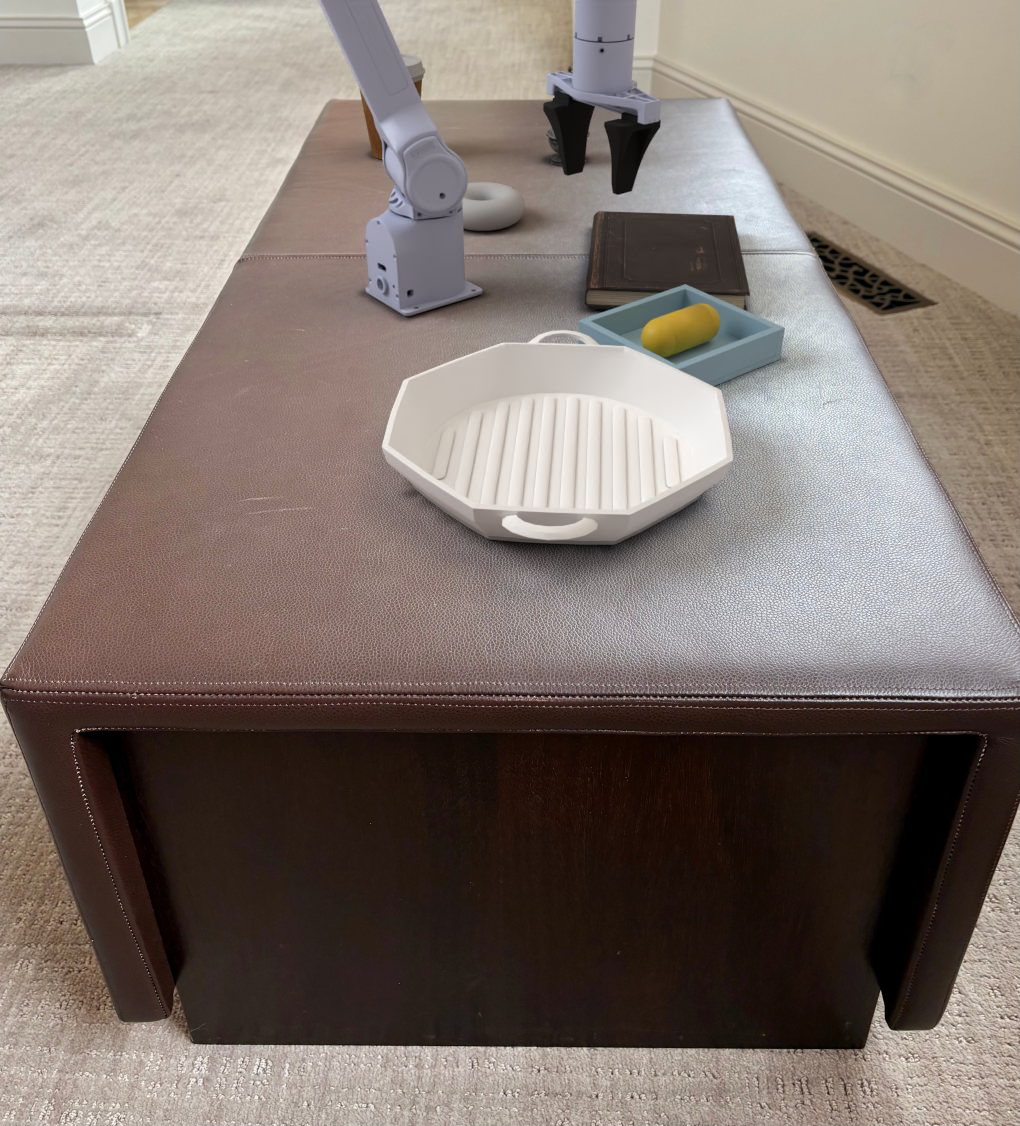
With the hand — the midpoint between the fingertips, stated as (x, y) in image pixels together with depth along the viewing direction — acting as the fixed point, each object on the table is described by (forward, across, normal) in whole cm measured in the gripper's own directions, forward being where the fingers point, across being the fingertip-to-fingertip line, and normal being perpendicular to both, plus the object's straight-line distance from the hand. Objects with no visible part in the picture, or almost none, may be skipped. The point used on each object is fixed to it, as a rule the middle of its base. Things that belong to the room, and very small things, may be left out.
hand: (597, 182), depth 109 cm
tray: (+9, -20, +7) cm, 23 cm away
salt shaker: (+10, +32, -23) cm, 41 cm away
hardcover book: (+10, -4, -6) cm, 12 cm away
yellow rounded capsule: (+9, -20, +7) cm, 23 cm away
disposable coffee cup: (+10, +49, -6) cm, 50 cm away
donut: (+10, +20, 0) cm, 22 cm away
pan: (+10, -28, +28) cm, 41 cm away
